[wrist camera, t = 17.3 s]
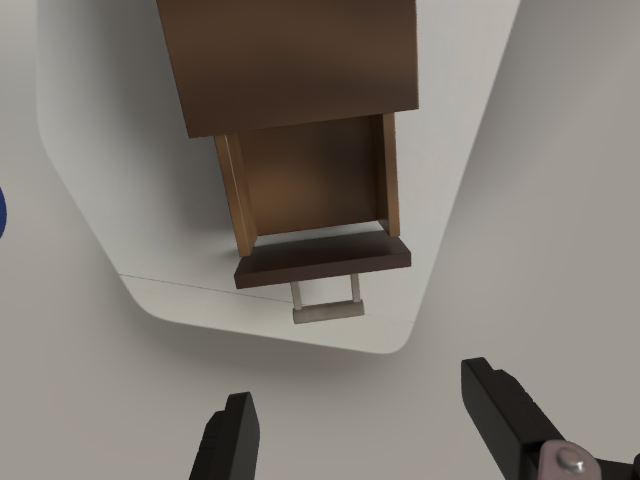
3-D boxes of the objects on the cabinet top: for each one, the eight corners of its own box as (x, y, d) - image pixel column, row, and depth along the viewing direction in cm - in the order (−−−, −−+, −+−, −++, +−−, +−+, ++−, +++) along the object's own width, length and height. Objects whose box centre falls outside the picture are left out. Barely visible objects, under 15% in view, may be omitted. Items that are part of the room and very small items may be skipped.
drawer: (395, 288, 33) (413, 322, 28) (257, 306, 33) (248, 343, 28) (383, 67, 27) (403, 54, 22) (212, 89, 27) (189, 81, 22)
